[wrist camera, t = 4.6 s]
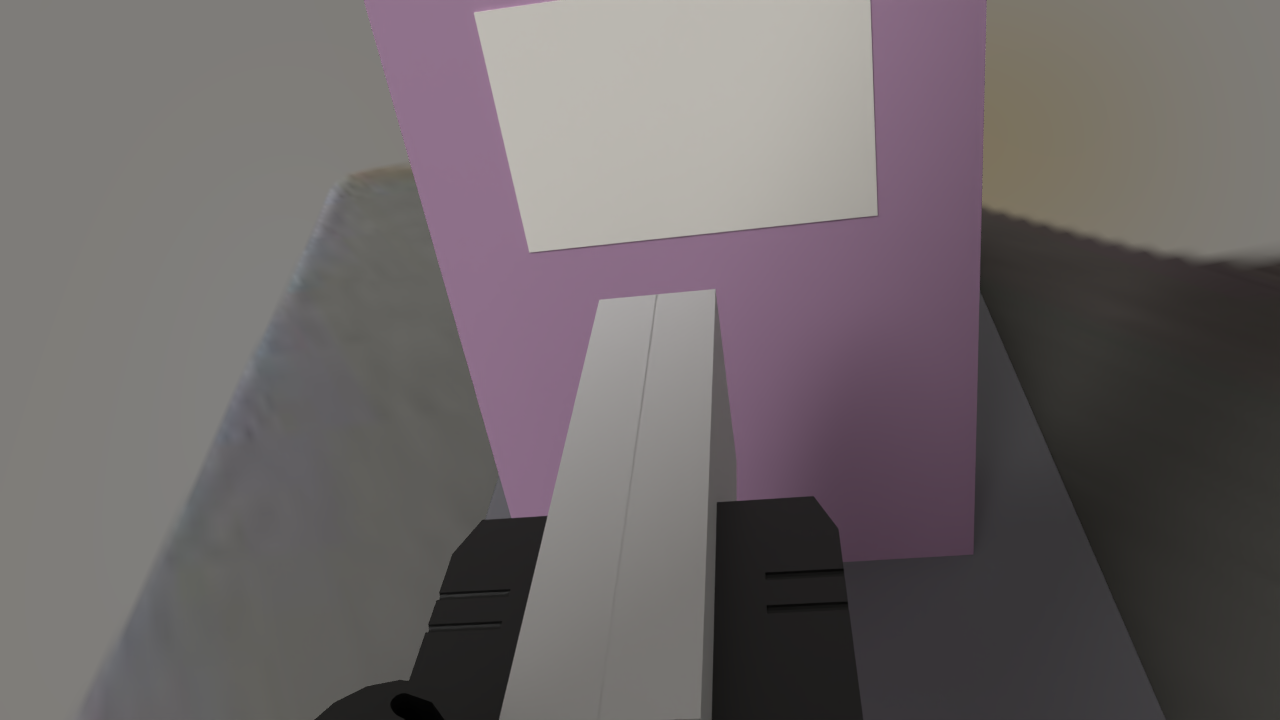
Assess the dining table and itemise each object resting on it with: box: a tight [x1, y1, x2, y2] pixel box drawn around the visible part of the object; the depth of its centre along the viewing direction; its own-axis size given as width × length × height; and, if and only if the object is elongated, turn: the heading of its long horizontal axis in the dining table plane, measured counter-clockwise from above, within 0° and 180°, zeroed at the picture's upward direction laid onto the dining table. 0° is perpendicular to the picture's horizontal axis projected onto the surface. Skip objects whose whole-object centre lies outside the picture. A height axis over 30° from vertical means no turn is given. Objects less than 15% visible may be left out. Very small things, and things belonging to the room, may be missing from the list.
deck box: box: [364, 0, 986, 562], centre depth 20 cm, size 4×10×16 cm, turn 86°
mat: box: [485, 292, 1166, 720], centre depth 29 cm, size 30×14×1 cm, turn 176°
